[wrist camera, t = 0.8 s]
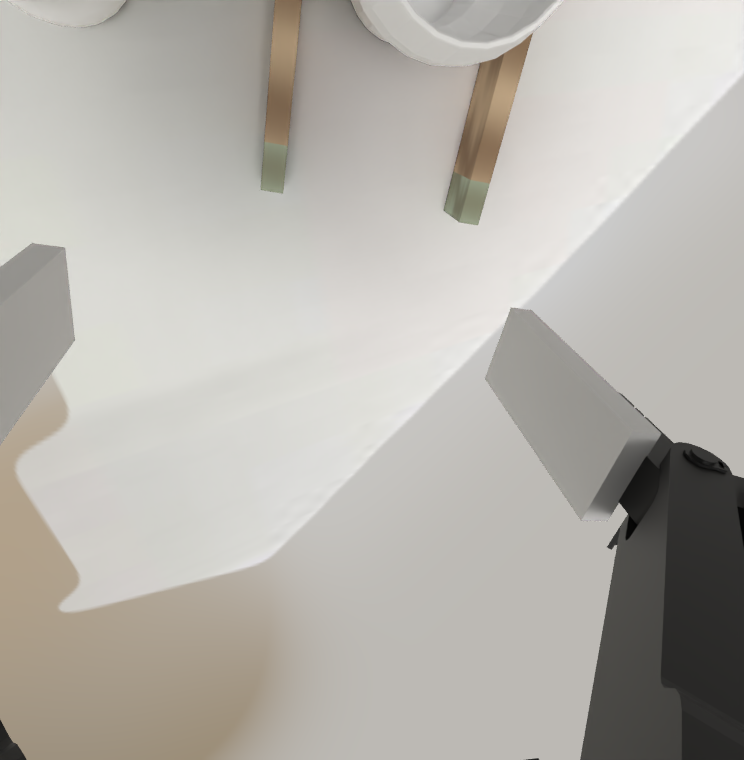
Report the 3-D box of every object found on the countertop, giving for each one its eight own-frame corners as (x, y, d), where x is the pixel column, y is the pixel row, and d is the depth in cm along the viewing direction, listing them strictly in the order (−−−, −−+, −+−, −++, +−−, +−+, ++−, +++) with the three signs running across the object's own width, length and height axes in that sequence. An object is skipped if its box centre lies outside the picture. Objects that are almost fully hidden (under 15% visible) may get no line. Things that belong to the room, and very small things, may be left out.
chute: (290, -202, 28) (292, -241, 24) (546, -111, 31) (580, -134, 28) (261, 179, 37) (260, 189, 34) (460, 213, 41) (477, 225, 38)
